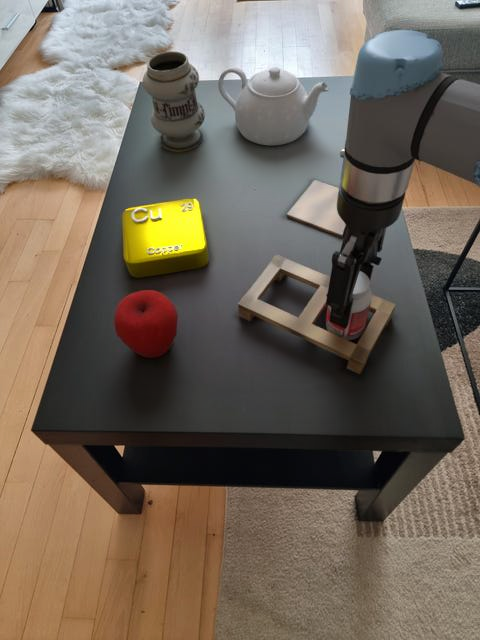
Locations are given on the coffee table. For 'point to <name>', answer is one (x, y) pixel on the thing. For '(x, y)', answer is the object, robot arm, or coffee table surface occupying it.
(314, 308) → the bottle rack
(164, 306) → the apple
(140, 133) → the coffee table surface
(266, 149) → the coffee table surface
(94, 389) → the coffee table surface
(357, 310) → the pill bottle
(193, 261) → the element tile
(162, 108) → the apothecary jar
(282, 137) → the teapot
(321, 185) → the brown flat square
